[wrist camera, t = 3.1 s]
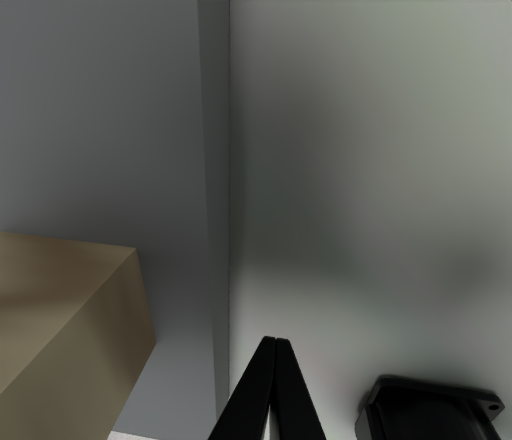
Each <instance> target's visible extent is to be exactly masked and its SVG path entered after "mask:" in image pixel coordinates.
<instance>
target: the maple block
mask: <svg viewBox="0 0 512 440" xmlns="http://www.w3.org/2000/svg"><path fill="white" fill-rule="evenodd" d="M155 345H156V339H155V334H154V329H153V325H152V320H151V315H150V310H149V306H148V301H147V296H146V292H145V287H144V282H143V277H142V273H141V268H140V263H139V259H138V254H137V249H136V248H133V247H124V246H116V245H108V244H100V243H92V242H84V241H76V240H68V239H60V238H51V237H43V236H35V235H27V234H19V233H11V232H3V231H1V232H0V440H107V438H108V436H109V434H110V432H111V430H112V428H113V426H114V424H115V422H116V421H117V419H118V417H119V415H120V413H121V411H122V409H123V407H124V405H125V403H126V401H127V399H128V397H129V395H130V394H131V392H132V390H133V388H134V386H135V384H136V382H137V380H138V378H139V376H140V374H141V372H142V370H143V368H144V367H145V365H146V363H147V361H148V359H149V357H150V355H151V353H152V351H153V349H154V347H155Z"/></svg>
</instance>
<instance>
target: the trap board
mask: <svg viewBox="0 0 512 440" xmlns="http://www.w3.org/2000/svg"><path fill="white" fill-rule="evenodd" d="M1 231H3V232H11V233H19V234H27V235H35V236H43V237H51V238H60V239H68V240H76V241H84V242H92V243H100V244H108V245H116V246H124V247H133V248H136V249H137V254H138V259H139V263H140V268H141V273H142V277H143V282H144V287H145V292H146V296H147V301H148V306H149V310H150V315H151V320H152V325H153V329H154V334H155V339H156V345H155V347H154V349H153V351H152V353H151V355H150V357H149V359H148V361H147V363H146V365H145V367H144V368H143V370H142V372H141V374H140V376H139V378H138V380H137V382H136V384H135V386H134V388H133V390H132V392H131V394H130V395H129V397H128V399H127V401H126V403H125V405H124V407H123V409H122V411H121V413H120V415H119V417H118V419H117V421H116V422H115V424H114V426H113V428H112V430H111V431H116V432H121V433H126V434H131V435H137V436H142V437H147V438H153V439H158V440H207V439H208V437H209V435H210V434H211V432H212V430H213V428H214V426H215V424H216V423H217V421H218V419H219V417H220V415H221V413H222V412H223V410H224V408H225V406H226V404H227V402H228V399H229V0H0V232H1Z"/></svg>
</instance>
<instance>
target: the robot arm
mask: <svg viewBox="0 0 512 440" xmlns="http://www.w3.org/2000/svg"><path fill="white" fill-rule="evenodd" d="M269 406H270V410H269ZM504 408H505V406H504V404H503V402H502V401H501V399H500V398H499V397H498V396H497V395H493V394H486V393H480V392H474V391H467V390H461V389H454V388H448V387H441V386H435V385H429V384H422V383H416V382H409V381H403V380H396V379H390V378H384V379H381V380H379V381H378V382H377V384H376V386H375V388H374V390H373V392H372V394H371V396H370V398H369V400H368V402H367V404H366V405H365V407H364V408H363V410H362V412H361V415H360V417H359V419H358V421H357V423H356V425H355V434H356V437H357V440H501V439H500V437H499V435H498V433H497V432H496V430H495V428H494V426H493V425H492V423H491V421H492V420H493V419H494V418H495V417H496V416H497V415H498V414H499V413H500V412H501V411H502V410H503V409H504ZM268 413H269V424H270V440H326V437H325V434H324V431H323V429H322V426H321V423H320V421H319V418H318V415H317V413H316V410H315V407H314V405H313V402H312V399H311V397H310V394H309V391H308V389H307V386H306V383H305V381H304V378H303V375H302V373H301V370H300V367H299V365H298V362H297V359H296V357H295V354H294V351H293V349H292V346H291V343H290V341H289V340H288V339H284V338H277V339H276V338H275V337H270V336H264V337H263V338H262V340H261V342H260V344H259V346H258V347H257V349H256V351H255V353H254V355H253V357H252V358H251V360H250V362H249V364H248V366H247V368H246V369H245V371H244V373H243V375H242V377H241V379H240V380H239V382H238V384H237V386H236V388H235V390H234V391H233V393H232V395H231V397H230V399H229V401H228V402H227V404H226V406H225V408H224V410H223V412H222V413H221V415H220V417H219V419H218V421H217V423H216V424H215V426H214V428H213V430H212V432H211V434H210V435H209V437H208V439H207V440H263V439H264V434H265V429H266V424H267V419H268Z"/></svg>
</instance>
